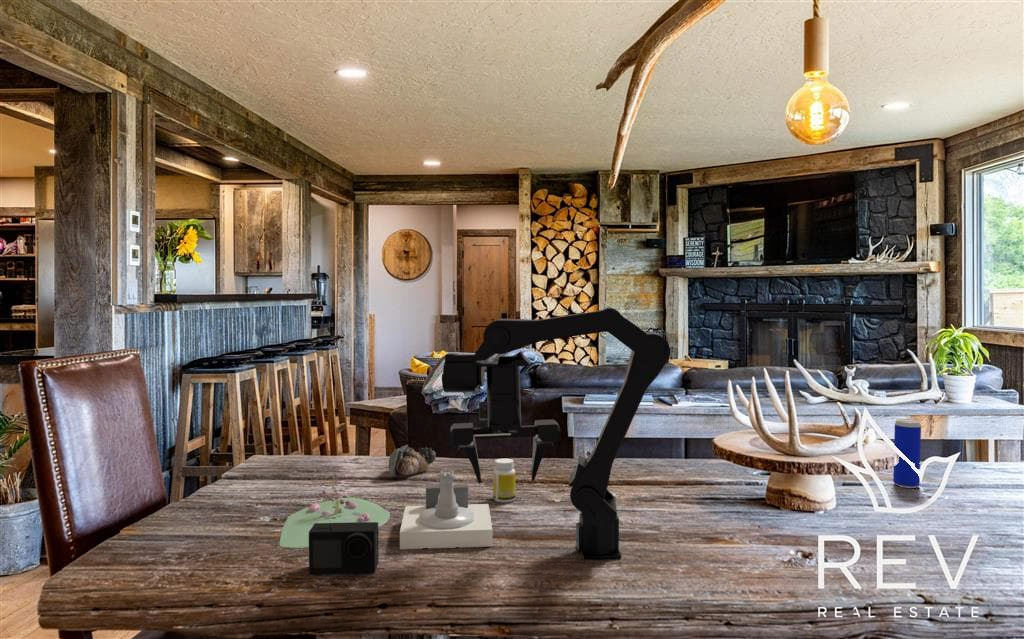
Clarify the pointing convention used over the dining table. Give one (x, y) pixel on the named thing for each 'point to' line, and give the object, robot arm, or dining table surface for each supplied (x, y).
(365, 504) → the plant
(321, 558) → the digital camera
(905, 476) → the beverage can
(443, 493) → the rook chess piece
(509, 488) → the supplement bottle
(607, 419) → the robot arm
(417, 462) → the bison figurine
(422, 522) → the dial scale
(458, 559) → the dining table surface
